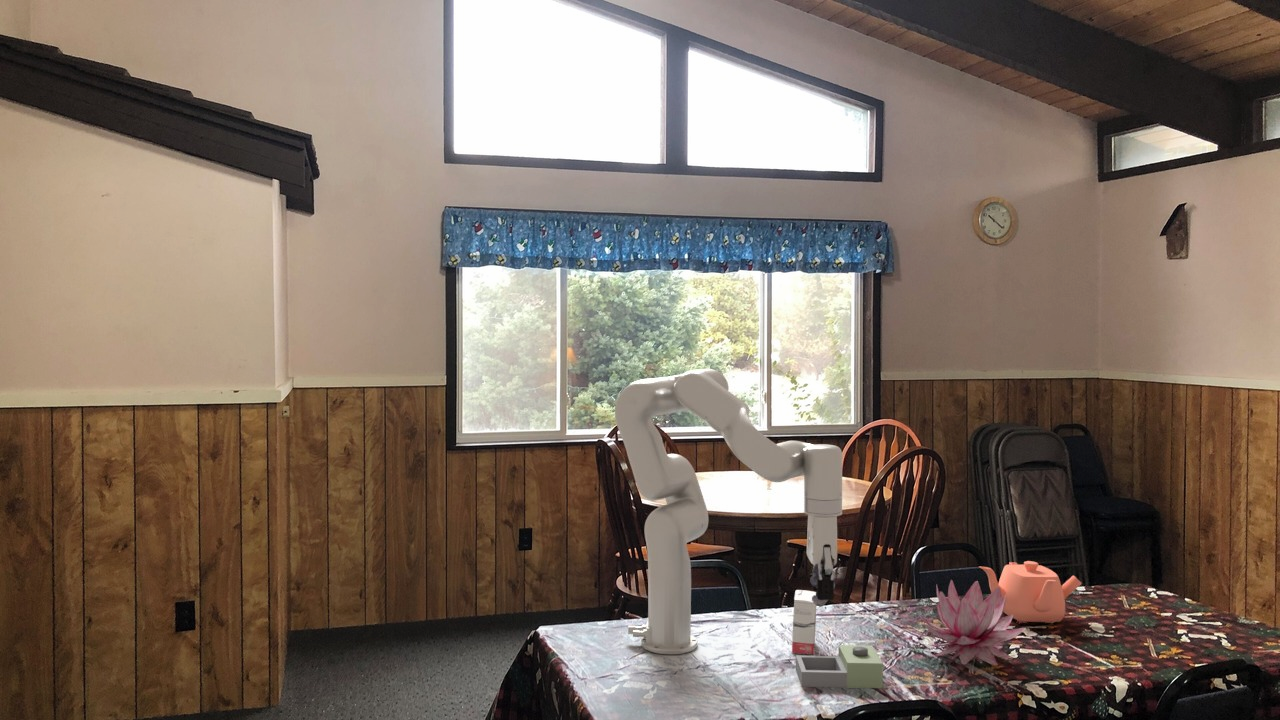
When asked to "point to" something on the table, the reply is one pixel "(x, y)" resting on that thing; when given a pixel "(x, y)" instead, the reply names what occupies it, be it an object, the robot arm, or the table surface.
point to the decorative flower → (973, 624)
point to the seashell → (814, 583)
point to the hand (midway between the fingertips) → (823, 594)
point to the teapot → (1032, 592)
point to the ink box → (804, 622)
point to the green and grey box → (842, 669)
